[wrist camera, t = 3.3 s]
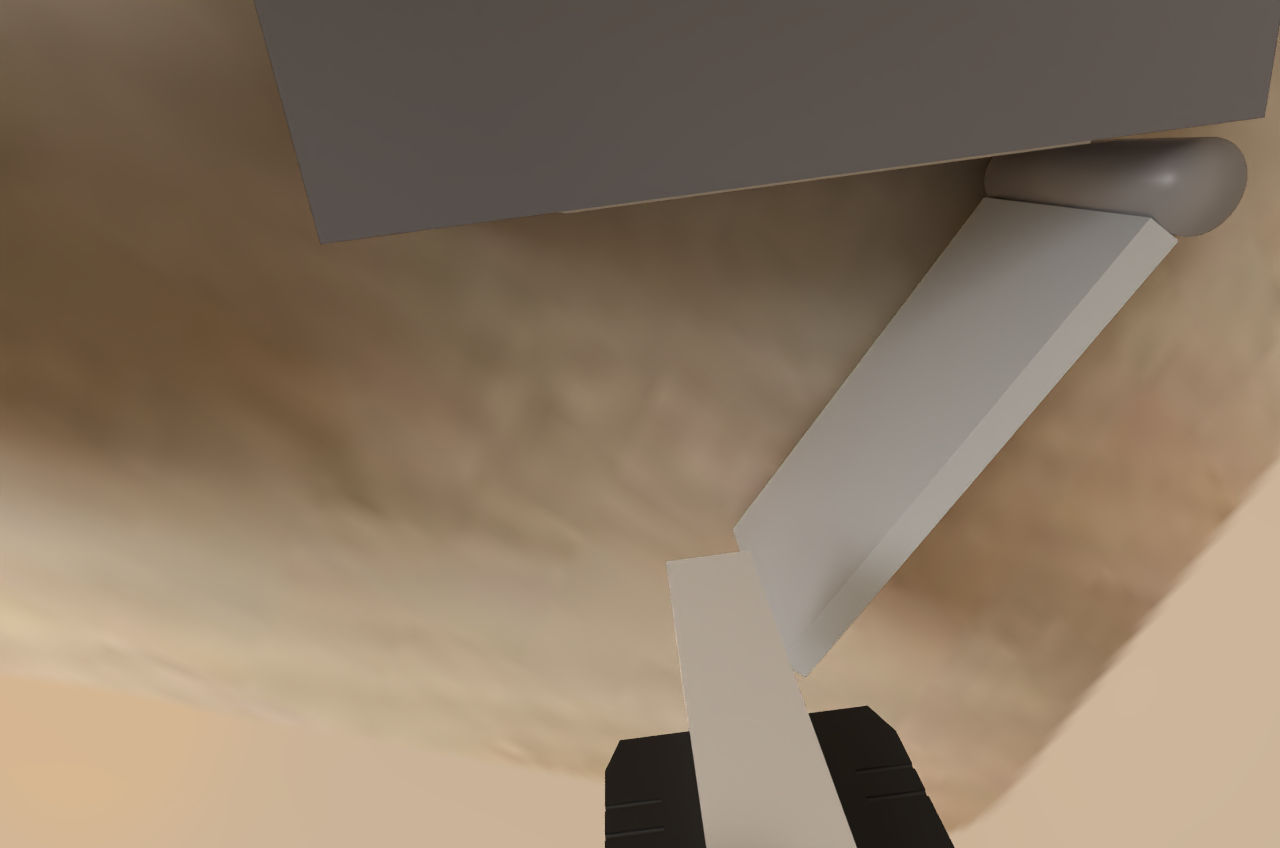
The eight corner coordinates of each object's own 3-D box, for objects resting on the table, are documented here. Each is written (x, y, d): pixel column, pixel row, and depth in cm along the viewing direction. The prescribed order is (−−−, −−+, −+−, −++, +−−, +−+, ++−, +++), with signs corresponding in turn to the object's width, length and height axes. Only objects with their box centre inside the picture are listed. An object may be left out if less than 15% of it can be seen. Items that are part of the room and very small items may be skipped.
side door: (782, 557, 24) (845, 697, 18) (719, 522, 23) (762, 654, 17) (1081, 180, 20) (1290, 193, 14) (1015, 127, 20) (1203, 116, 13)
